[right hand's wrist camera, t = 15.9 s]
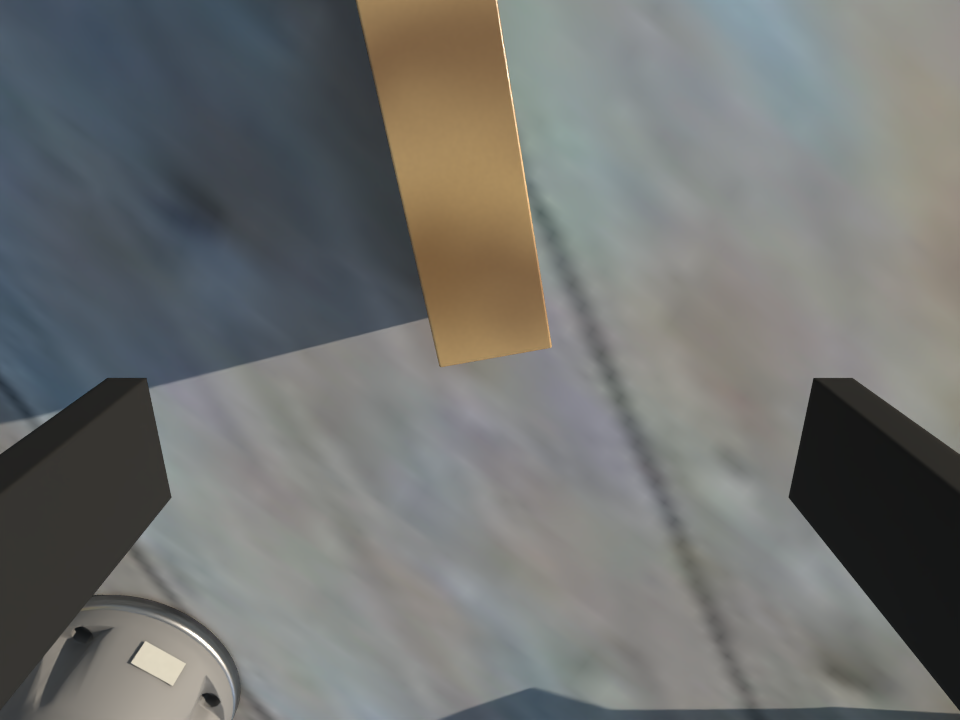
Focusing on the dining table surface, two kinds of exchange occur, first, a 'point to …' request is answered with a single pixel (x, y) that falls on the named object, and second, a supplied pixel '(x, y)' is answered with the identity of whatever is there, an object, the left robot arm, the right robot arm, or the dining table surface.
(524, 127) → the dining table surface
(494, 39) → the bar
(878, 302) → the dining table surface
